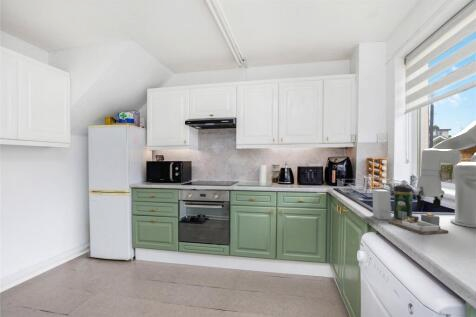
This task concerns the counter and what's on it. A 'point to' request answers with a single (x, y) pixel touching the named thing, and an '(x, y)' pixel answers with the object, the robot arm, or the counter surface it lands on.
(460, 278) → the counter surface
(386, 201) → the skincare box
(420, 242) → the counter surface
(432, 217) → the connector block
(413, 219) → the board
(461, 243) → the counter surface
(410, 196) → the coffee jar
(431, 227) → the end holder
